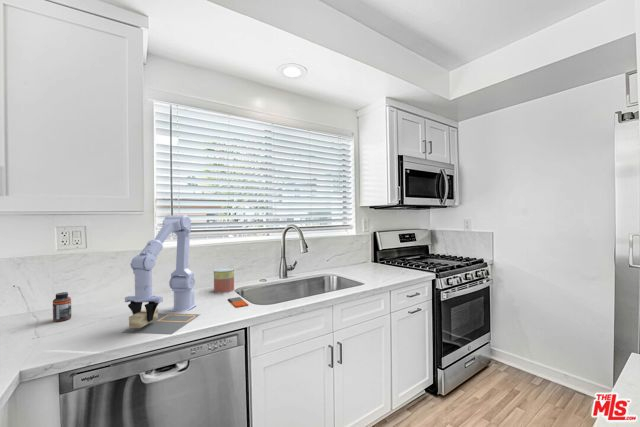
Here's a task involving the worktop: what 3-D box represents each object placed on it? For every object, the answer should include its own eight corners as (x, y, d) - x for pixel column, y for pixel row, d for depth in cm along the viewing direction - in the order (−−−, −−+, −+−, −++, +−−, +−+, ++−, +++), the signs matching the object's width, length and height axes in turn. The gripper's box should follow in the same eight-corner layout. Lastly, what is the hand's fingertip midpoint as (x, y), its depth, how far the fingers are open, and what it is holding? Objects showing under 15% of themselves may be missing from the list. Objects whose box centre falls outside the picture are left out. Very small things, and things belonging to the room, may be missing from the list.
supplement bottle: (53, 319, 127) (52, 293, 126) (71, 316, 130) (71, 290, 130) (52, 323, 122) (52, 296, 122) (71, 319, 126) (71, 293, 126)
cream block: (147, 317, 121) (147, 307, 121) (157, 318, 120) (157, 308, 120) (129, 327, 111) (129, 316, 111) (140, 328, 110) (140, 317, 110)
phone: (235, 306, 140) (227, 298, 152) (235, 309, 140) (227, 301, 152) (248, 304, 143) (239, 296, 156) (248, 306, 143) (239, 299, 156)
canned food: (218, 287, 177) (218, 267, 177) (236, 287, 177) (236, 267, 177) (210, 292, 166) (210, 271, 166) (230, 292, 166) (230, 271, 166)
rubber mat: (157, 314, 132) (157, 312, 132) (200, 315, 129) (200, 314, 129) (121, 333, 111) (121, 332, 111) (171, 335, 109) (171, 334, 109)
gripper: (118, 288, 112) (118, 323, 112) (153, 288, 111) (154, 325, 111) (132, 283, 119) (132, 317, 119) (165, 284, 118) (166, 318, 118)
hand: (144, 320), depth 116 cm, fingers closed on cream block, 4 cm apart
